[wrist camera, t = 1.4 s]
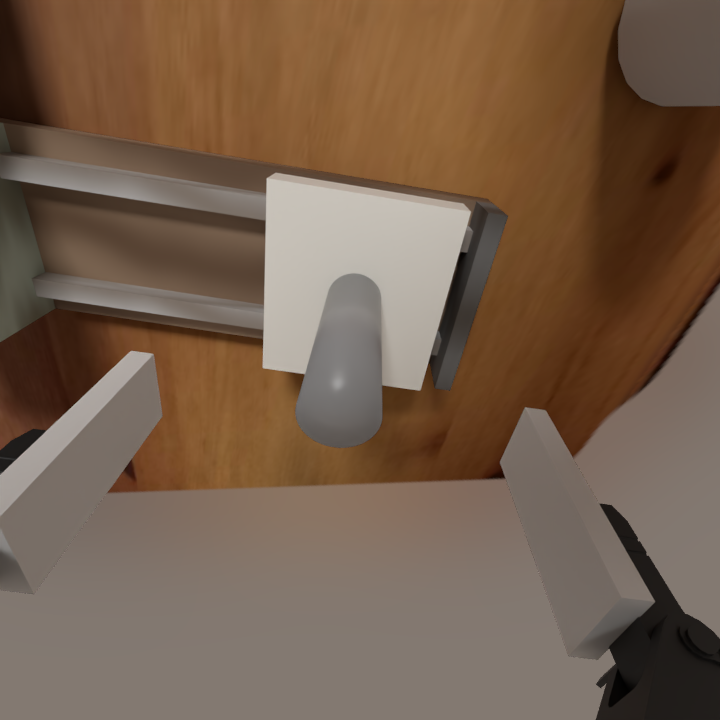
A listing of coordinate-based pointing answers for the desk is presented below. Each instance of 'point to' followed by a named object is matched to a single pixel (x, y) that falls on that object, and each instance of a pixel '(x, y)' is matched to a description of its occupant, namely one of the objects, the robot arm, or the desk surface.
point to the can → (671, 51)
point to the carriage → (353, 296)
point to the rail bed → (173, 236)
